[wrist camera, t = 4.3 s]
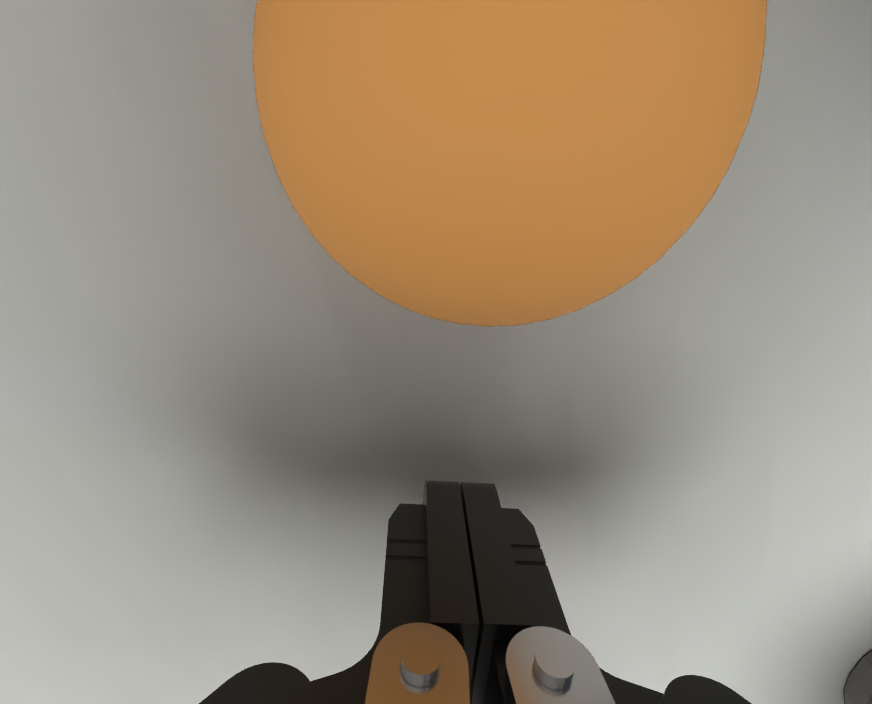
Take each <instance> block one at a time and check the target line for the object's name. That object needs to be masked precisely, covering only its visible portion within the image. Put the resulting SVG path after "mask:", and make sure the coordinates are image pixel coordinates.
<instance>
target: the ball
mask: <svg viewBox="0 0 872 704" xmlns="http://www.w3.org/2000/svg"><path fill="white" fill-rule="evenodd" d="M766 10H767V0H257V3H256V10H255V16H254V47H253V68H254V79H255V90H256V101H257V106H258V111H259V116H260V120H261V125H262V129H263V134H264V138H265V141H266V143H267V146H268V149H269V152H270V155H271V158H272V160H273V163H274V166H275V169H276V172H277V174H278V177H279V179H280V181H281V183H282V185H283V187H284V189H285V191H286V193H287V195H288V197H289V199H290V201H291V203H292V205H293V207H294V209H295V210H296V212H297V213H298V215H299V216H300V218H301V219H302V221H303V222H304V224H305V225H306V227H307V228H308V230H309V231H310V233H311V234H312V235H313V236H314V238H315V239H316V240H317V241H318V242H319V243H320V245H321V246H322V247H323V248H324V249H325V250H326V252H327V253H328V254H329V255H330V256H331V257H332V258H333V259H334V260H335V261H336V262H337V263H338V264H340V265H341V266H342V267H343V268H344V269H345V270H346V271H347V272H349V273H350V274H351V275H352V276H353V277H354V278H356V279H357V280H358V281H360V282H361V283H363V284H364V285H366V286H367V287H369V288H370V289H371V290H373V291H374V292H376V293H377V294H379V295H380V296H382V297H384V298H386V299H388V300H390V301H392V302H394V303H396V304H398V305H400V306H402V307H404V308H405V309H408V310H411V311H414V312H417V313H419V314H422V315H425V316H428V317H431V318H435V319H439V320H444V321H448V322H453V323H458V324H467V325H479V326H509V325H522V324H527V323H533V322H538V321H544V320H549V319H552V318H555V317H558V316H561V315H564V314H567V313H571V312H574V311H577V310H579V309H581V308H583V307H585V306H587V305H589V304H591V303H594V302H596V301H598V300H600V299H602V298H604V297H606V296H608V295H610V294H611V293H613V292H615V291H616V290H618V289H619V288H621V287H622V286H624V285H626V284H627V283H629V282H630V281H632V280H634V279H635V278H637V277H638V276H639V275H640V274H642V273H643V272H644V271H645V270H647V269H648V268H649V267H650V266H651V265H653V264H654V263H655V262H656V261H657V260H659V259H660V258H661V257H662V256H663V255H664V254H665V253H666V252H667V251H668V250H669V249H670V248H671V247H672V245H673V244H674V243H675V242H676V241H677V240H678V239H679V238H680V237H681V236H682V235H683V234H684V233H685V232H686V230H687V229H688V228H689V227H690V226H691V225H692V224H693V222H694V221H695V220H696V218H697V217H698V216H699V214H700V213H701V212H702V210H703V209H704V207H705V206H706V205H707V203H708V202H709V201H710V199H711V198H712V196H713V195H714V193H715V191H716V189H717V188H718V186H719V184H720V182H721V181H722V179H723V177H724V175H725V173H726V172H727V170H728V168H729V166H730V164H731V162H732V159H733V157H734V155H735V153H736V150H737V148H738V145H739V143H740V141H741V138H742V136H743V134H744V131H745V129H746V126H747V124H748V122H749V118H750V115H751V111H752V108H753V104H754V101H755V97H756V94H757V90H758V86H759V79H760V73H761V67H762V61H763V55H764V45H765V34H766Z"/></svg>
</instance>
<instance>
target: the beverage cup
mask: <svg viewBox="0 0 872 704" xmlns="http://www.w3.org/2000/svg"><path fill="white" fill-rule="evenodd" d="M844 697H845V704H872V651H871V652H869V653H868V654H867V655H866V656H864V657H863V658H862V659H861V660H860V662H859V663H858V664H857V666H856V667H855V668H854V670H853V671H852V672H851V674H850V675H849V678H848V680H847V683H846V686H845V689H844Z"/></svg>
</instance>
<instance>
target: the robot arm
mask: <svg viewBox="0 0 872 704" xmlns="http://www.w3.org/2000/svg"><path fill="white" fill-rule="evenodd" d="M199 704H751V703H750V702H748V701H747V700H746V699H744V698H743V697H742V696H740V695H739V694H737V693H736V692H735V691H733V690H732V689H730V688H728V687H727V686H725V685H723V684H721V683H719V682H717V681H714V680H712V679H709V678H706V677H702V676H696V675H685V676H681V677H678V678H676V679H674V680H672V681H671V682H670V683H669V684H668V686H667V688H666V690H665V693H664V694H663V693H660V692H657V691H654V690H651V689H648V688H645V687H642V686H639V685H636V684H633V683H630V682H627V681H624V680H622V679H619V678H617V677H614V676H612V675H611V674H609V673H607V672H605V671H604V670H602V669H601V668H599V666H598V664H597V663H596V661H595V659H594V657H593V656H592V655H591V653H590V652H589V651H588V649H587V648H586V647H585V646H584V645H583V644H582V643H580V642H579V641H578V640H577V639H575V638H574V637H572V636H571V633H570V631H569V628H568V625H567V622H566V619H565V617H564V614H563V611H562V608H561V605H560V602H559V599H558V596H557V593H556V590H555V587H554V584H553V581H552V579H551V576H550V573H549V570H548V567H547V566H546V561H545V558H544V555H543V552H542V549H540V543H539V541H538V538H537V535H536V532H535V529H534V526H533V525H532V524H531V523H530V521H529V520H528V519H527V518H526V517H525V516H524V515H523V514H522V513H521V511H520V510H519V509H507V508H501V506H500V502H499V498H498V494H497V490H496V487H495V485H494V484H486V483H467V482H461V483H460V485H459V482H445V481H425V485H424V495H423V505H420V504H399V506H398V507H397V509H396V510H395V511H394V513H393V514H392V516H391V517H390V518H389V523H388V535H387V548H386V560H385V572H384V585H383V597H382V610H381V622H380V630H379V634H378V637H377V640H376V641H375V643H374V645H373V647H372V648H371V650H370V651H369V652H368V654H367V655H366V656H365V657H363V658H362V659H361V660H360V661H359V662H358V663H356V664H355V665H354V666H352V667H350V668H348V669H346V670H344V671H342V672H339V673H336V674H333V675H330V676H327V677H324V678H320V679H317V680H314V681H309V679H308V678H307V677H306V676H305V675H304V674H303V673H302V672H301V671H299V670H298V669H297V668H295V667H292V666H290V665H287V664H283V663H263V664H259V665H255V666H252V667H249V668H247V669H245V670H243V671H241V672H239V673H237V674H236V675H234V676H233V677H231V678H230V679H229V680H227V681H226V682H225V683H224V684H222V685H221V686H220V687H219V688H218V689H216V690H215V691H214V692H213V693H211V694H210V695H209V696H208V697H207V698H205V699H204V700H203V701H202V702H201V703H199Z"/></svg>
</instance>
